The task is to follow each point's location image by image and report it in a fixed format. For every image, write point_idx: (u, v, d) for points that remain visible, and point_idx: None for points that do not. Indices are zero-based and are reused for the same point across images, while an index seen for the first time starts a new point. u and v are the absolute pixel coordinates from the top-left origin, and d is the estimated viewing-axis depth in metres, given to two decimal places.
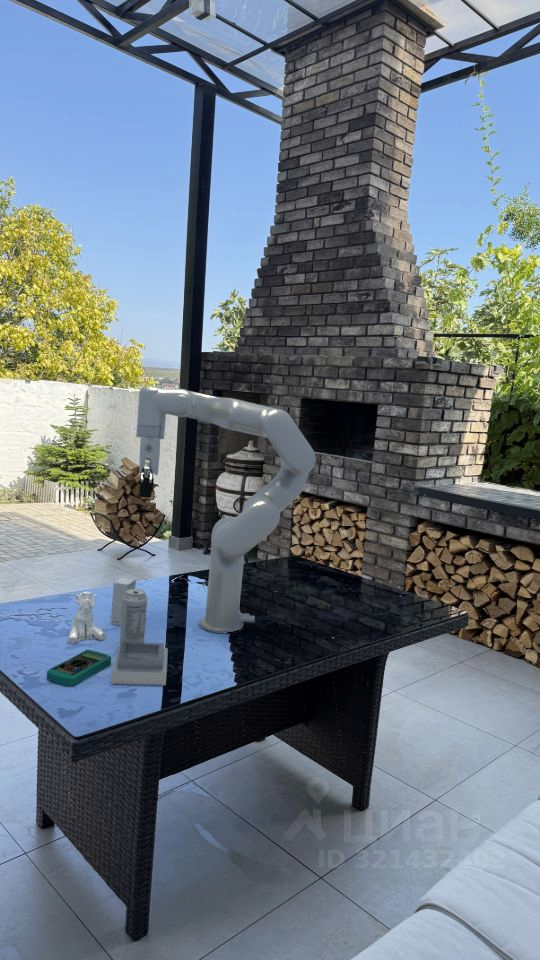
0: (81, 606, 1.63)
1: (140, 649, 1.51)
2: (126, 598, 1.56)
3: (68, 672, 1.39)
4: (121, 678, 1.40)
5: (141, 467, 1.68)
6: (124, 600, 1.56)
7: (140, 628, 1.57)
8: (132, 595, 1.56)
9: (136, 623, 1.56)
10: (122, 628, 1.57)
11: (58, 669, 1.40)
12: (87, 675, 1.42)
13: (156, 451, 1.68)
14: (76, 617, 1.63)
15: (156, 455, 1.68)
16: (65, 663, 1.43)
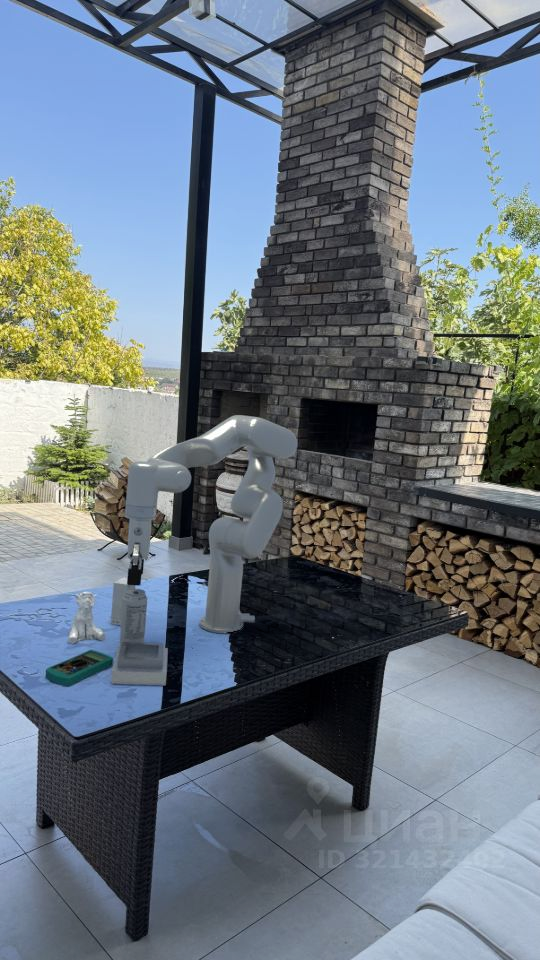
0: (81, 606, 1.63)
1: (140, 649, 1.51)
2: (126, 598, 1.56)
3: (66, 671, 1.39)
4: (121, 678, 1.40)
5: (129, 552, 1.51)
6: (124, 600, 1.56)
7: (140, 628, 1.57)
8: (132, 595, 1.56)
9: (136, 623, 1.56)
10: (122, 628, 1.57)
11: (57, 668, 1.40)
12: (85, 675, 1.41)
13: (146, 534, 1.52)
14: (76, 617, 1.63)
15: (146, 539, 1.52)
16: (65, 662, 1.44)
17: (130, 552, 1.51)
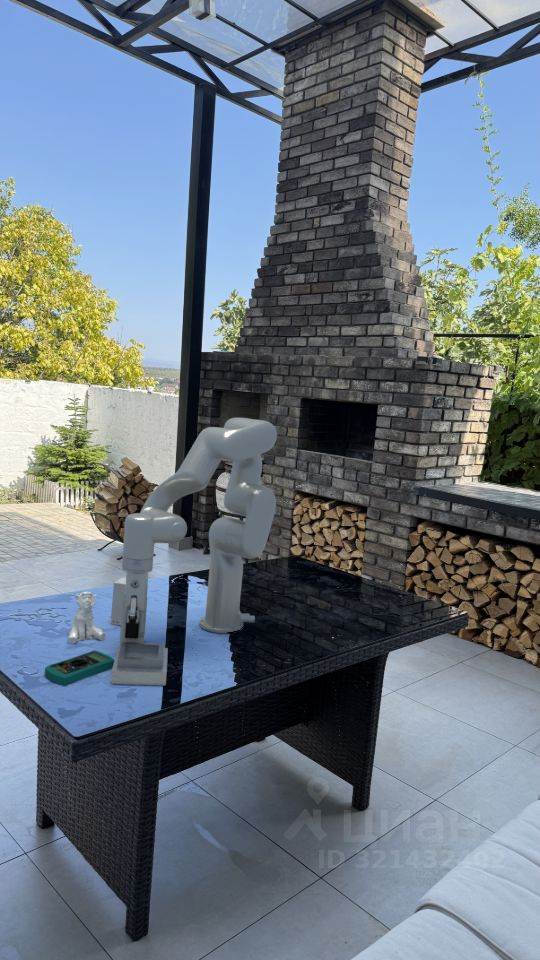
0: (81, 606, 1.63)
1: (140, 649, 1.51)
2: None
3: (63, 671, 1.39)
4: (121, 678, 1.40)
5: (127, 605, 1.53)
6: (124, 600, 1.56)
7: (140, 628, 1.57)
8: None
9: None
10: (122, 628, 1.57)
11: (56, 667, 1.41)
12: (83, 675, 1.41)
13: (143, 587, 1.54)
14: (76, 617, 1.63)
15: (143, 591, 1.54)
16: (66, 661, 1.44)
17: (127, 605, 1.53)
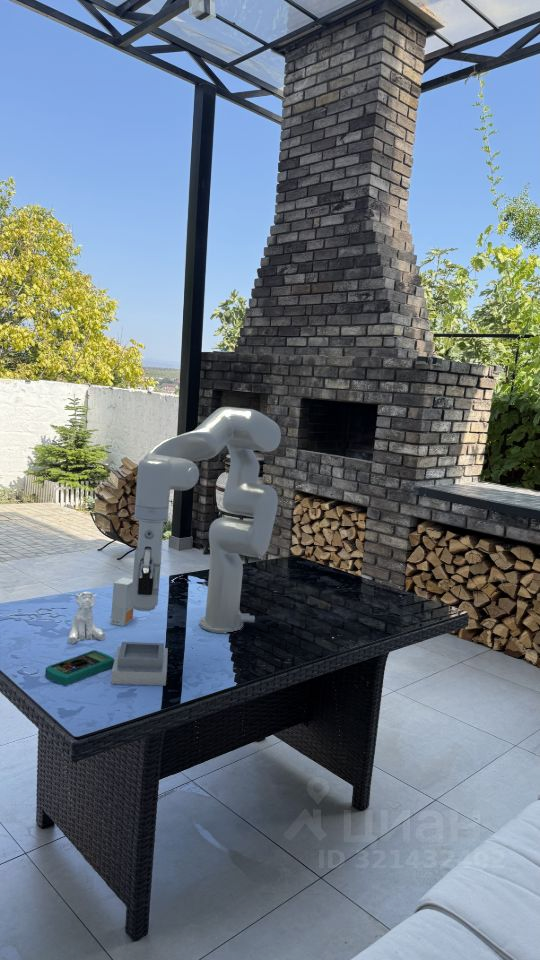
0: (81, 606, 1.63)
1: (140, 649, 1.51)
2: None
3: (64, 671, 1.39)
4: (121, 678, 1.40)
5: (140, 557, 1.40)
6: (136, 553, 1.43)
7: (154, 583, 1.43)
8: None
9: None
10: (134, 584, 1.43)
11: (56, 667, 1.41)
12: (84, 675, 1.41)
13: (158, 538, 1.40)
14: (76, 617, 1.63)
15: (158, 542, 1.40)
16: (66, 662, 1.44)
17: (140, 557, 1.40)
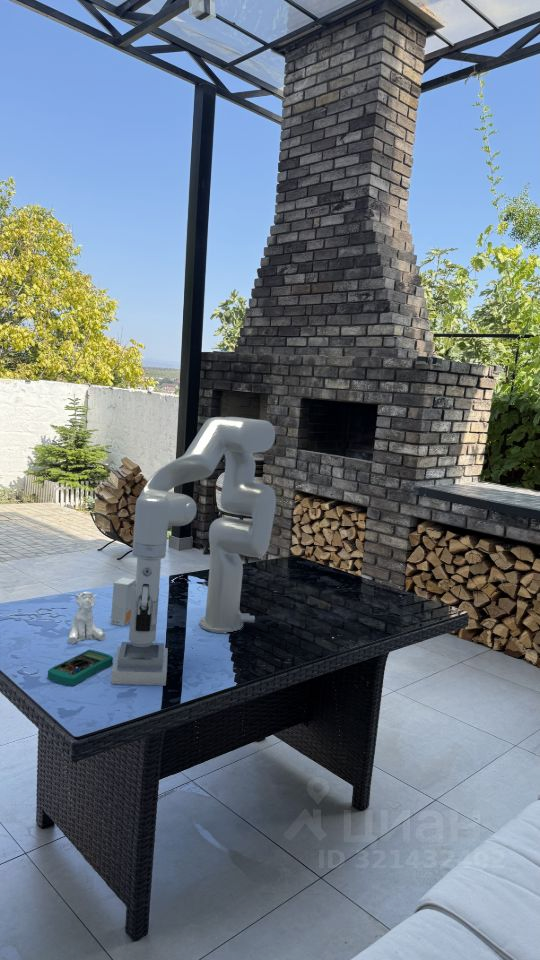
0: (81, 606, 1.63)
1: (140, 649, 1.51)
2: None
3: (69, 672, 1.39)
4: (121, 678, 1.40)
5: (138, 594, 1.40)
6: (134, 590, 1.43)
7: (152, 619, 1.44)
8: None
9: None
10: (132, 620, 1.44)
11: (59, 668, 1.40)
12: (88, 675, 1.42)
13: (156, 575, 1.40)
14: (76, 617, 1.63)
15: (156, 580, 1.40)
16: (66, 663, 1.44)
17: (138, 594, 1.40)
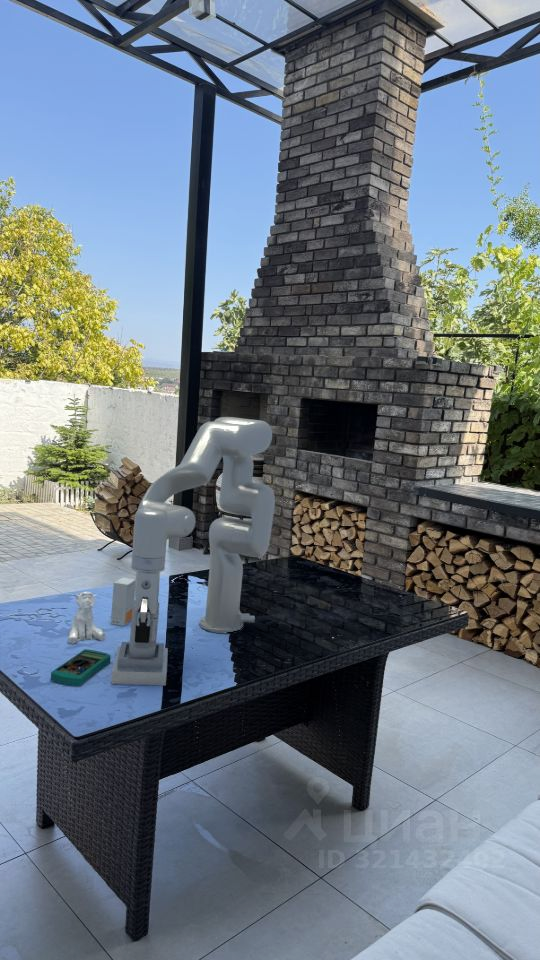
0: (81, 606, 1.63)
1: None
2: None
3: (73, 672, 1.39)
4: (121, 678, 1.40)
5: (137, 607, 1.40)
6: (134, 606, 1.44)
7: (152, 636, 1.45)
8: None
9: None
10: (132, 636, 1.45)
11: (62, 670, 1.40)
12: (91, 674, 1.42)
13: (155, 588, 1.41)
14: (76, 617, 1.63)
15: (155, 593, 1.41)
16: (67, 664, 1.43)
17: (137, 607, 1.40)
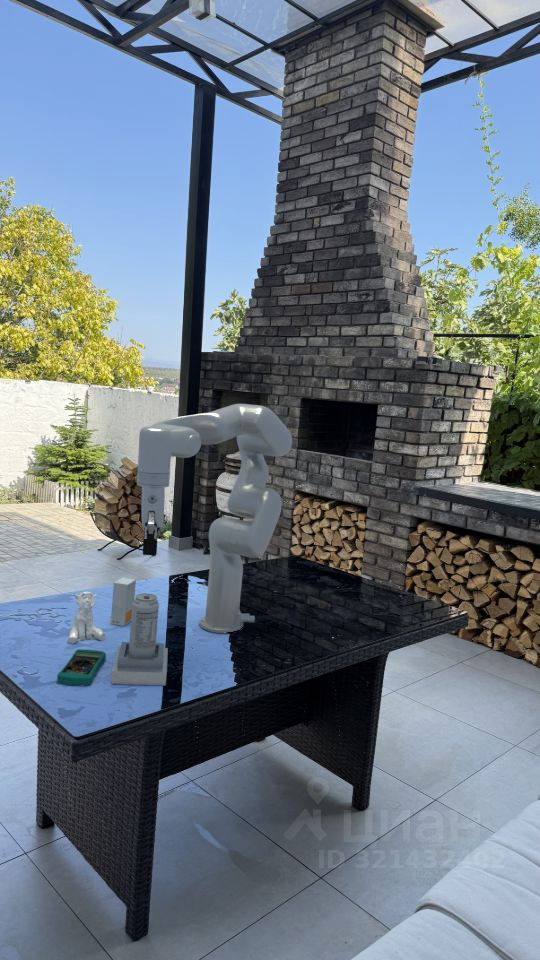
0: (81, 606, 1.63)
1: None
2: (135, 603, 1.44)
3: (80, 672, 1.39)
4: (121, 678, 1.40)
5: (144, 521, 1.46)
6: (133, 606, 1.44)
7: (151, 636, 1.45)
8: (143, 600, 1.43)
9: (147, 631, 1.44)
10: (131, 636, 1.45)
11: (68, 671, 1.39)
12: (95, 673, 1.43)
13: (161, 502, 1.46)
14: (76, 617, 1.63)
15: (161, 507, 1.46)
16: (69, 665, 1.43)
17: (145, 521, 1.46)
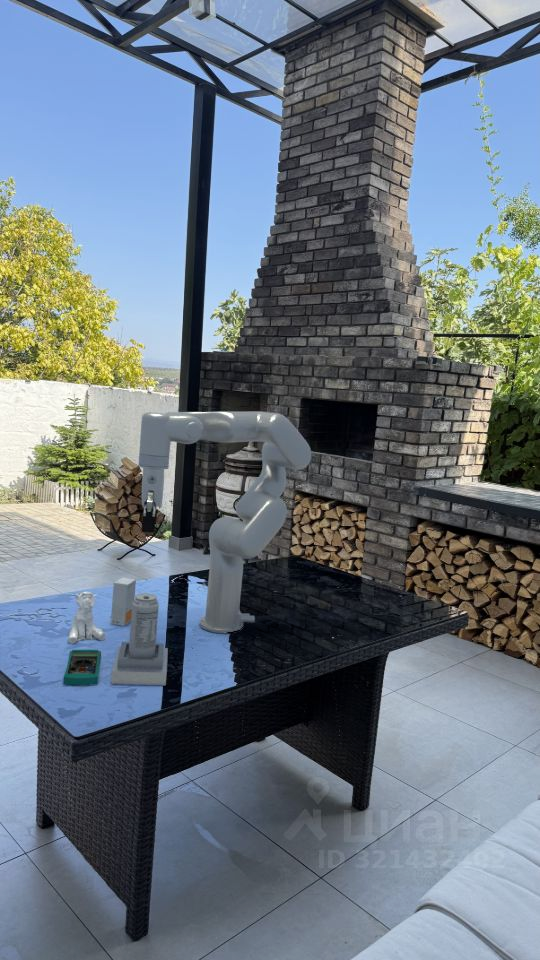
0: (81, 606, 1.63)
1: None
2: (135, 603, 1.44)
3: (86, 672, 1.40)
4: (121, 678, 1.40)
5: (144, 500, 1.55)
6: (133, 606, 1.44)
7: (151, 636, 1.45)
8: (142, 600, 1.43)
9: (147, 631, 1.44)
10: (131, 636, 1.45)
11: (73, 672, 1.39)
12: None
13: (160, 483, 1.56)
14: (76, 617, 1.63)
15: (160, 487, 1.56)
16: (71, 666, 1.42)
17: (144, 500, 1.55)
